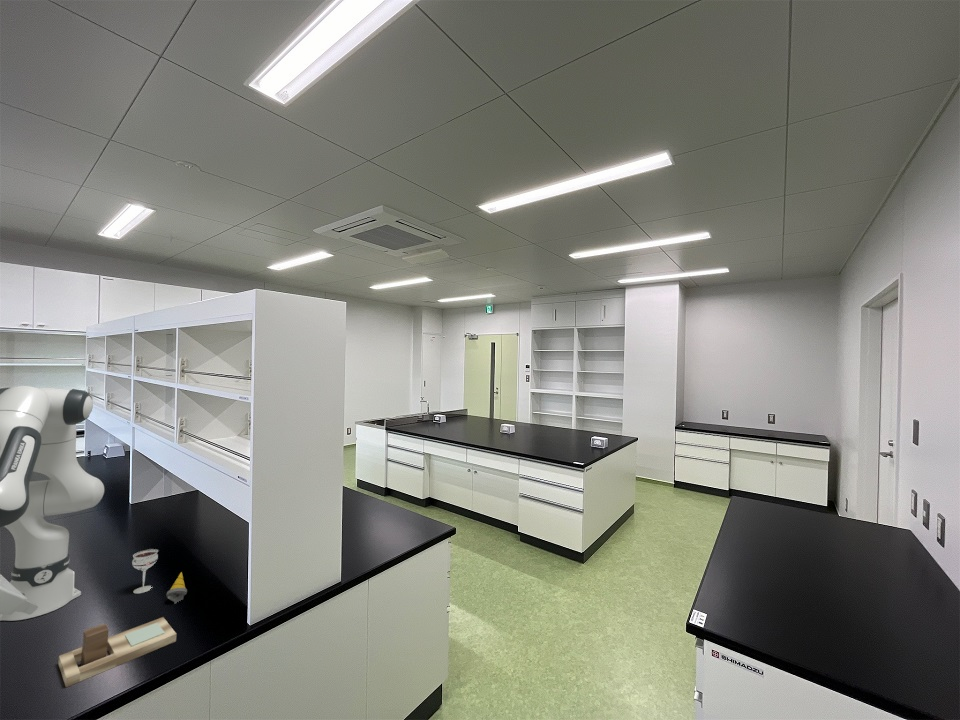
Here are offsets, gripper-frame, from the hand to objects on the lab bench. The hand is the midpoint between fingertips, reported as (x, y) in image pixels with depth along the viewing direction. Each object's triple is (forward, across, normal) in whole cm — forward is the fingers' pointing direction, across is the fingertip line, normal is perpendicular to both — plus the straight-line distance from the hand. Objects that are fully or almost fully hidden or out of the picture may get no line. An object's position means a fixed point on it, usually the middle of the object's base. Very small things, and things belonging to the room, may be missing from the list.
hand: (27, 603), depth 89 cm
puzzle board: (+27, 0, +2) cm, 27 cm away
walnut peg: (+23, 0, +5) cm, 24 cm away
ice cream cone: (+40, +16, -12) cm, 45 cm away
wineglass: (+38, +32, -10) cm, 51 cm away
